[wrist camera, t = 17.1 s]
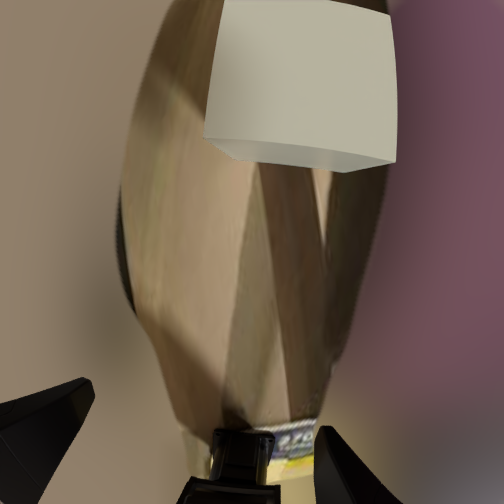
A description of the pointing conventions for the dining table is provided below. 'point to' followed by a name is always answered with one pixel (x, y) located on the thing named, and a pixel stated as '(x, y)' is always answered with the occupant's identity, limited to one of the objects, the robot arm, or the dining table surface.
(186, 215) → the dining table surface
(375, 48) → the white rectangular box
